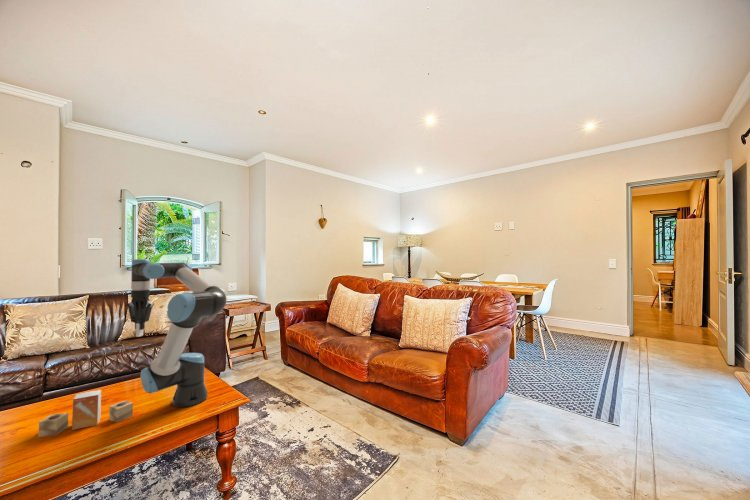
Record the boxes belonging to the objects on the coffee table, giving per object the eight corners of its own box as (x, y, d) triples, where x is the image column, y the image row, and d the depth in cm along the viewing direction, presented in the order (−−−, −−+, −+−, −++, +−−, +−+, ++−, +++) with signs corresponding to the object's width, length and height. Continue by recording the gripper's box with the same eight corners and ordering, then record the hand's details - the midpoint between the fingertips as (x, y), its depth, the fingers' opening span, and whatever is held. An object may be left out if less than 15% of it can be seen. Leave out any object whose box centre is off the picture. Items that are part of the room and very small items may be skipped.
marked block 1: (68, 427, 128) (68, 412, 128) (56, 435, 122) (56, 419, 122) (51, 428, 127) (51, 413, 127) (38, 437, 121) (39, 421, 121)
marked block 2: (132, 416, 137) (132, 402, 137) (117, 422, 132) (117, 408, 132) (124, 413, 140) (125, 399, 140) (109, 419, 134) (109, 405, 134)
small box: (71, 430, 125) (72, 399, 126) (75, 423, 131) (76, 393, 131) (97, 424, 130) (98, 394, 130) (100, 418, 135) (101, 389, 135)
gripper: (158, 288, 157) (157, 334, 156) (134, 288, 157) (133, 333, 157) (146, 290, 149) (145, 338, 149) (121, 290, 150) (120, 337, 149)
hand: (139, 335), depth 153 cm, fingers closed
